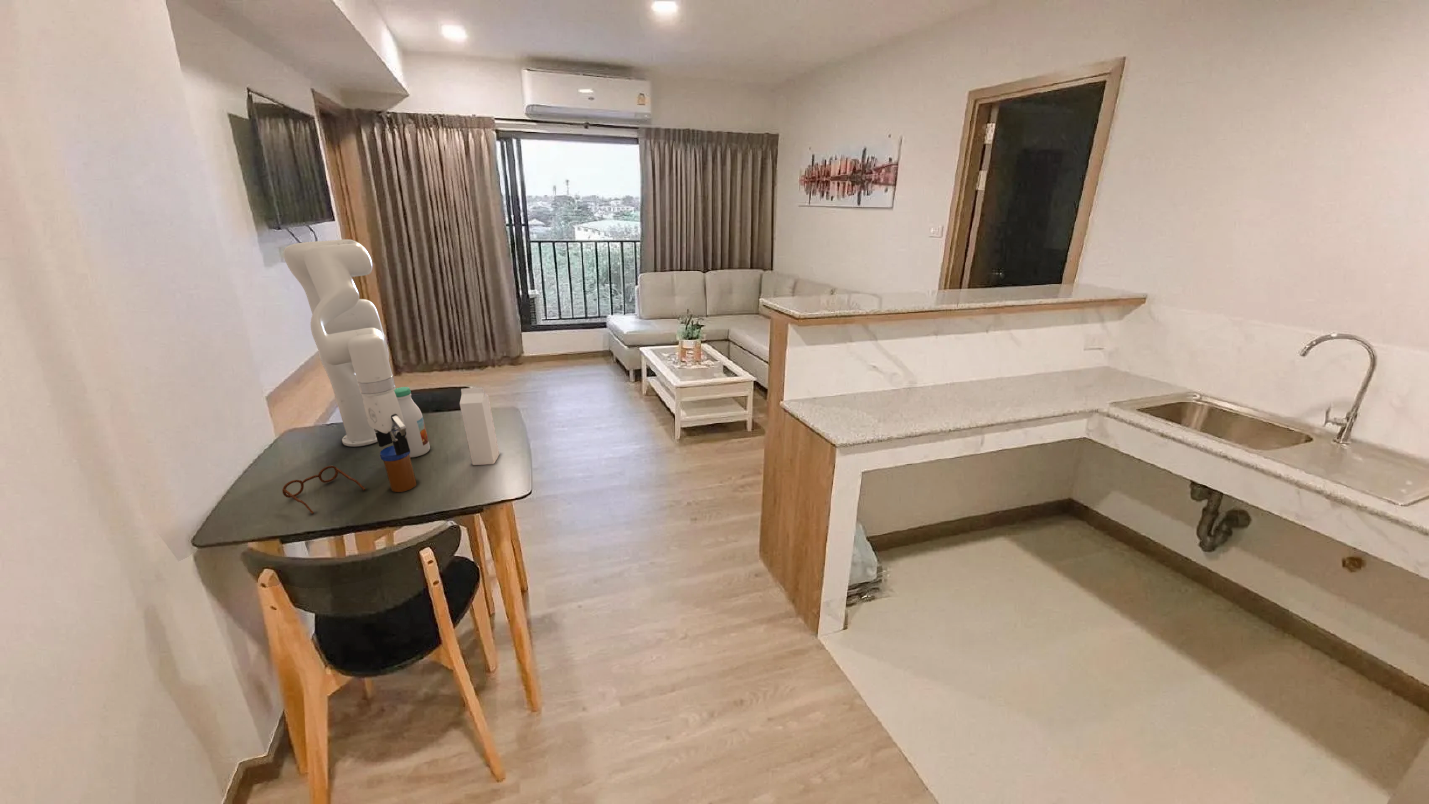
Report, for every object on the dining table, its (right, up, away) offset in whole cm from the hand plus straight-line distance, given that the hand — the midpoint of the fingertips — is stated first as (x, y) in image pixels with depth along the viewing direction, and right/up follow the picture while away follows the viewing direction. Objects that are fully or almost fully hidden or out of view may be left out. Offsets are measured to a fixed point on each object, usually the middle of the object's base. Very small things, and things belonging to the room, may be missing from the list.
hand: (394, 448), depth 142 cm
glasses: (-18, -12, +1) cm, 22 cm away
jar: (0, -10, +4) cm, 11 cm away
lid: (0, -1, 0) cm, 1 cm away
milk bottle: (-7, -3, +23) cm, 24 cm away
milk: (+16, -5, +17) cm, 24 cm away
